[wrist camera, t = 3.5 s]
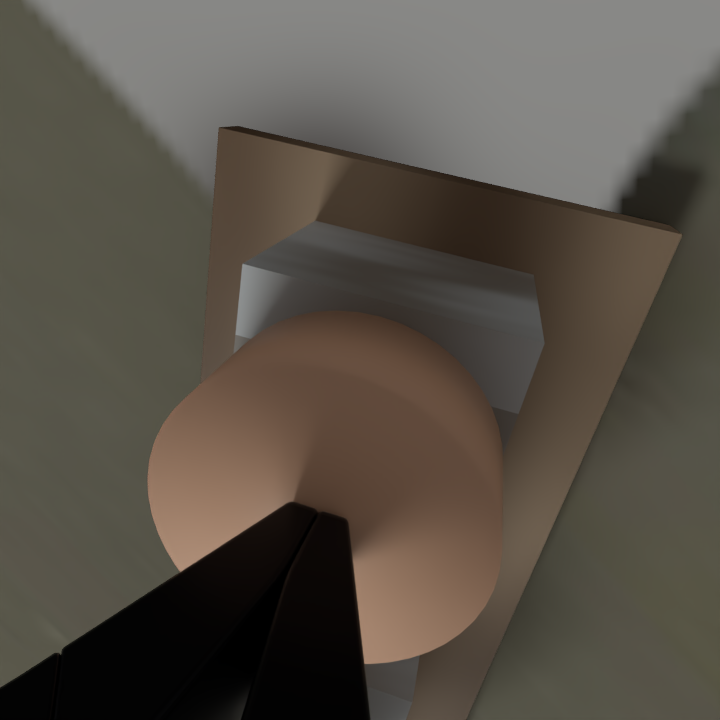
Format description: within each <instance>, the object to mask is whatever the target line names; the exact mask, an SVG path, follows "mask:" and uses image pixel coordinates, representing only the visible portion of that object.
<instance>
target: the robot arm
mask: <svg viewBox="0 0 720 720" xmlns="http://www.w3.org/2000/svg"><path fill="white" fill-rule="evenodd" d="M0 720H371V718H370V709H369V700H368V691H367V682H366V673H365V664H364V655H363V646H362V637H361V628H360V619H359V610H358V601H357V592H356V583H355V574H354V565H353V556H352V547H351V538H350V529H349V523H348V520H347V519H346V518H344V517H341V516H338V515H334V514H331V513H328V512H325V511H322V512H320V513H319V514H318V512H317V510H316V509H315V508H312V507H309V506H306V505H303V504H300V503H297V502H288V503H286V504H284V505H283V506H281V507H280V508H278V509H277V510H275V511H274V512H272V513H271V514H269V515H267V516H266V517H264V518H263V519H261V520H260V521H258V522H257V523H255V524H254V525H252V526H251V527H249V528H247V529H246V530H244V531H243V532H241V533H240V534H238V535H237V536H235V537H234V538H232V539H230V540H229V541H227V542H226V543H224V544H223V545H221V546H220V547H218V548H217V549H215V550H213V551H212V552H210V553H209V554H207V555H206V556H204V557H203V558H201V559H200V560H198V561H197V562H195V563H193V564H192V565H190V566H189V567H187V568H186V569H184V570H183V571H181V572H180V573H178V574H176V575H175V576H173V577H172V578H170V579H169V580H167V581H166V582H164V583H163V584H161V585H159V586H158V587H156V588H155V589H153V590H152V591H150V592H149V593H147V594H146V595H144V596H143V597H141V598H139V599H138V600H136V601H135V602H133V603H132V604H130V605H129V606H127V607H126V608H124V609H122V610H121V611H119V612H118V613H116V614H115V615H113V616H112V617H110V618H109V619H107V620H105V621H104V622H102V623H101V624H99V625H98V626H96V627H95V628H93V629H92V630H90V631H89V632H87V633H85V634H84V635H82V636H81V637H79V638H78V639H76V640H75V641H73V642H72V643H70V644H68V645H67V646H65V647H64V648H63V649H62V652H61V655H60V654H59V653H54V654H52V655H51V656H49V657H48V658H46V659H45V660H43V661H42V662H40V663H39V664H37V665H36V666H34V667H32V668H31V669H29V670H28V671H26V672H25V673H23V674H22V675H20V676H18V677H17V678H15V679H14V680H12V681H10V682H9V683H7V684H5V685H4V686H2V687H1V688H0Z"/></svg>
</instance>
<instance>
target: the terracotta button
mask: <svg viewBox="0 0 720 720" xmlns="http://www.w3.org/2000/svg"><path fill="white" fill-rule="evenodd" d="M148 496H149V502H150V507H151V512H152V516H153V519H154V522H155V525H156V528H157V531H158V534H159V536H160V538H161V540H162V542H163V544H164V546H165V549H166V550H167V552H168V554H169V555H170V557H171V559H172V560H173V562H174V563H175V565H176V567H177V568H178V569H179V571H180V572H181V571H183V570H184V569H186V568H187V567H189V566H190V565H192V564H193V563H195V562H197V561H198V560H200V559H201V558H203V557H204V556H206V555H207V554H209V553H210V552H212V551H213V550H215V549H217V548H218V547H220V546H221V545H223V544H224V543H226V542H227V541H229V540H230V539H232V538H234V537H235V536H237V535H238V534H240V533H241V532H243V531H244V530H246V529H247V528H249V527H251V526H252V525H254V524H255V523H257V522H258V521H260V520H261V519H263V518H264V517H266V516H267V515H269V514H271V513H272V512H274V511H275V510H277V509H278V508H280V507H281V506H283V505H284V504H286V503H288V502H297V503H300V504H303V505H306V506H309V507H312V508H315V509H316V510H317V512H318V514H319V513H320V512H322V511H325V512H328V513H331V514H334V515H338V516H341V517H344V518H346V519H347V520H348V523H349V529H350V538H351V547H352V556H353V565H354V574H355V583H356V592H357V601H358V610H359V619H360V628H361V637H362V646H363V655H364V664H376V663H388V662H394V661H399V660H404V659H409V658H412V657H415V656H418V655H421V654H424V653H427V652H430V651H432V650H434V649H436V648H438V647H440V646H442V645H444V644H446V643H447V642H449V641H450V640H452V639H453V638H455V637H456V636H458V635H459V634H461V633H462V632H463V631H464V630H465V629H466V628H467V627H468V626H469V625H470V624H471V623H472V622H473V621H474V620H475V619H476V618H477V617H478V615H479V614H480V613H481V611H482V610H483V609H484V607H485V606H486V604H487V602H488V600H489V598H490V596H491V594H492V593H493V591H494V588H495V585H496V582H497V578H498V575H499V572H500V565H501V557H502V523H503V448H502V441H501V436H500V431H499V426H498V424H497V421H496V418H495V415H494V413H493V410H492V408H491V406H490V404H489V402H488V400H487V398H486V396H485V394H484V392H483V391H482V389H481V388H480V387H479V385H478V384H477V382H476V381H475V380H474V378H473V377H472V375H471V374H470V373H469V372H468V371H467V370H466V369H465V368H464V367H463V366H462V365H461V363H460V362H459V361H458V360H457V359H456V358H455V357H453V356H452V355H451V354H450V353H449V352H447V351H446V350H445V349H444V348H442V347H441V346H440V345H439V344H437V343H436V342H434V341H432V340H431V339H429V338H428V337H426V336H425V335H423V334H421V333H420V332H418V331H415V330H413V329H411V328H409V327H407V326H405V325H403V324H401V323H398V322H395V321H392V320H389V319H386V318H383V317H380V316H375V315H370V314H365V313H360V312H351V311H320V312H312V313H307V314H302V315H297V316H294V317H291V318H288V319H285V320H282V321H279V322H277V323H276V324H274V325H272V326H270V327H268V328H266V329H264V330H262V331H261V332H260V333H258V334H257V335H255V336H254V337H253V338H251V339H250V340H249V341H247V342H246V343H245V344H244V345H243V346H242V347H241V348H240V349H239V350H237V351H236V352H235V353H234V354H233V355H232V356H231V357H230V358H229V359H228V360H226V361H225V362H224V363H223V364H222V365H221V366H220V367H219V368H218V369H216V370H215V371H214V372H213V373H212V374H211V375H210V376H209V377H208V378H207V379H205V380H204V381H203V382H202V383H201V384H200V385H199V386H198V387H197V388H195V389H194V390H193V391H192V392H191V393H190V394H189V395H188V396H187V397H186V398H185V399H184V400H183V401H182V402H181V403H180V404H179V405H178V406H177V407H176V408H175V409H174V410H173V411H172V412H171V414H170V415H169V416H168V418H167V419H166V421H165V422H164V424H163V425H162V427H161V429H160V431H159V433H158V435H157V437H156V440H155V442H154V445H153V449H152V452H151V456H150V460H149V469H148Z"/></svg>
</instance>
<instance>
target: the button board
mask: <svg viewBox="0 0 720 720" xmlns="http://www.w3.org/2000/svg"><path fill="white" fill-rule="evenodd" d="M682 235H683V234H681V233H680V232H678V231H677V230H676V229H674V228H673V227H672V226H670V225H666V224H662V223H658V222H653V221H649V220H645V219H640V218H636V217H632V216H627V215H623V214H619V213H614V212H610V211H605V210H601V209H597V208H592V207H588V206H584V205H579V204H575V203H571V202H566V201H562V200H557V199H553V198H549V197H544V196H540V195H536V194H531V193H527V192H523V191H518V190H514V189H510V188H505V187H501V186H496V185H492V184H488V183H483V182H479V181H475V180H470V179H466V178H462V177H457V176H453V175H449V174H444V173H440V172H436V171H431V170H427V169H423V168H418V167H414V166H409V165H405V164H401V163H396V162H392V161H388V160H383V159H379V158H374V157H370V156H365V155H362V154H357V153H353V152H348V151H344V150H340V149H335V148H331V147H326V146H322V145H317V144H313V143H309V142H305V141H301V140H296V139H292V138H287V137H283V136H279V135H274V134H270V133H265V132H261V131H257V130H253V129H248V128H244V127H240V126H232V127H219V132H218V147H217V161H216V174H215V188H214V202H213V215H212V229H211V243H210V257H209V271H208V285H207V299H206V313H205V327H204V341H203V355H202V369H201V383H202V382H203V381H204V380H205V379H207V378H208V377H209V376H210V375H211V374H212V373H213V372H214V371H215V370H216V369H218V368H219V367H220V366H221V365H222V364H223V363H224V362H225V361H226V360H228V359H229V358H230V357H231V356H232V355H233V354H234V353H235V352H236V351H237V350H239V349H240V348H241V347H242V346H243V345H244V344H245V343H246V342H247V341H249V340H250V339H251V338H253V337H254V336H255V335H257V334H258V333H260V332H261V331H262V330H264V329H266V328H268V327H270V326H272V325H274V324H276V323H277V322H279V321H282V320H285V319H288V318H291V317H294V316H297V315H302V314H307V313H312V312H320V311H351V312H360V313H365V314H370V315H375V316H380V317H383V318H386V319H389V320H392V321H395V322H398V323H401V324H403V325H405V326H407V327H409V328H411V329H413V330H415V331H418V332H420V333H421V334H423V335H425V336H426V337H428V338H429V339H431V340H432V341H434V342H436V343H437V344H439V345H440V346H441V347H442V348H444V349H445V350H446V351H447V352H449V353H450V354H451V355H452V356H453V357H455V358H456V359H457V360H458V361H459V362H460V363H461V365H462V366H463V367H464V368H465V369H466V370H467V371H468V372H469V373H470V374H471V375H472V377H473V378H474V380H475V381H476V382H477V384H478V385H479V387H480V388H481V389H482V391H483V392H484V394H485V396H486V398H487V400H488V402H489V404H490V406H491V408H492V410H493V413H494V415H495V418H496V421H497V424H498V426H499V431H500V436H501V441H502V448H503V523H502V557H501V565H500V572H499V575H498V578H497V582H496V585H495V588H494V591H493V593H492V594H491V596H490V598H489V600H488V602H487V604H486V606H485V607H484V609H483V610H482V611H481V613H480V614H479V615H478V617H477V618H476V619H475V620H474V621H473V622H472V623H471V624H470V625H469V626H468V627H467V628H466V629H465V630H464V631H463V632H462V633H461V634H459V635H458V636H456V637H455V638H453V639H452V640H450V641H449V642H447V643H446V644H444V645H442V646H440V647H438V648H436V649H434V650H432V651H430V652H427V653H424V654H421V655H418V656H415V657H412V658H409V659H404V660H399V661H394V662H388V663H376V664H365V673H366V682H367V691H368V700H369V709H370V718H371V720H466V719H467V717H468V715H469V712H470V710H471V708H472V706H473V703H474V701H475V699H476V697H477V694H478V692H479V690H480V688H481V686H482V683H483V681H484V679H485V677H486V674H487V672H488V670H489V668H490V665H491V663H492V661H493V659H494V656H495V654H496V652H497V650H498V647H499V645H500V643H501V641H502V638H503V636H504V634H505V632H506V630H507V627H508V625H509V623H510V621H511V618H512V616H513V614H514V612H515V609H516V607H517V605H518V603H519V600H520V598H521V596H522V594H523V591H524V589H525V587H526V585H527V582H528V580H529V578H530V576H531V574H532V571H533V569H534V567H535V565H536V562H537V560H538V558H539V556H540V553H541V551H542V549H543V547H544V544H545V542H546V540H547V538H548V535H549V533H550V531H551V529H552V526H553V524H554V522H555V520H556V517H557V515H558V513H559V511H560V509H561V506H562V504H563V502H564V500H565V497H566V495H567V493H568V491H569V488H570V486H571V484H572V482H573V479H574V477H575V475H576V473H577V470H578V468H579V466H580V464H581V461H582V459H583V457H584V455H585V453H586V450H587V448H588V446H589V444H590V441H591V439H592V437H593V435H594V432H595V430H596V428H597V426H598V423H599V421H600V419H601V417H602V414H603V412H604V410H605V408H606V405H607V403H608V401H609V399H610V396H611V394H612V392H613V390H614V388H615V385H616V383H617V381H618V379H619V376H620V374H621V372H622V370H623V367H624V365H625V363H626V361H627V358H628V356H629V354H630V352H631V349H632V347H633V345H634V343H635V340H636V338H637V336H638V334H639V332H640V329H641V327H642V325H643V323H644V320H645V318H646V316H647V314H648V311H649V309H650V307H651V305H652V302H653V300H654V298H655V296H656V293H657V291H658V289H659V287H660V284H661V282H662V280H663V278H664V276H665V273H666V271H667V269H668V267H669V264H670V262H671V260H672V258H673V255H674V253H675V251H676V249H677V246H678V244H679V242H680V240H681V237H682ZM201 383H200V384H201Z"/></svg>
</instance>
